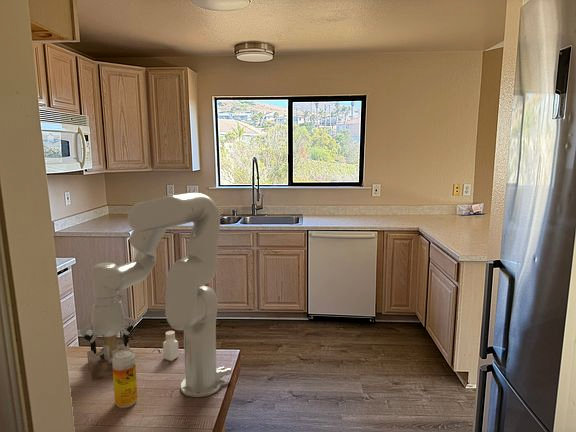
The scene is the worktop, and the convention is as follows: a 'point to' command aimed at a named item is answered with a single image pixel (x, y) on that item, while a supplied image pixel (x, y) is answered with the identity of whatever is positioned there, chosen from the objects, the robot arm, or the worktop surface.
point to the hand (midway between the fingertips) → (110, 348)
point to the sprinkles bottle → (110, 344)
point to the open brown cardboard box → (101, 363)
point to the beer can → (124, 378)
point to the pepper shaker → (170, 346)
